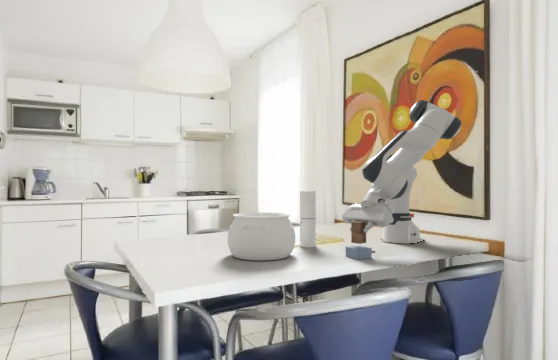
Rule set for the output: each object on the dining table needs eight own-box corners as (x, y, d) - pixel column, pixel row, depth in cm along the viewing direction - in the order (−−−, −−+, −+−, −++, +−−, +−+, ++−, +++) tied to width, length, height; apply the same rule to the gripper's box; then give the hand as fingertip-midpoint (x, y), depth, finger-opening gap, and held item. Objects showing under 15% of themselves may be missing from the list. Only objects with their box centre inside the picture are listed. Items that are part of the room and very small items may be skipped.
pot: (288, 265, 130) (288, 218, 130) (215, 262, 135) (216, 217, 135) (300, 250, 159) (300, 212, 159) (240, 248, 164) (240, 211, 164)
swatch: (361, 249, 160) (361, 248, 160) (375, 252, 155) (375, 251, 155) (353, 251, 157) (353, 250, 157) (367, 253, 152) (367, 252, 152)
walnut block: (357, 241, 147) (357, 221, 147) (366, 242, 144) (366, 221, 144) (351, 242, 144) (351, 221, 145) (360, 243, 142) (359, 222, 142)
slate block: (360, 255, 149) (360, 245, 149) (371, 258, 143) (371, 248, 143) (345, 256, 146) (345, 246, 146) (356, 260, 140) (356, 249, 140)
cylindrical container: (310, 247, 165) (310, 191, 165) (296, 246, 169) (296, 190, 170) (318, 245, 171) (318, 190, 171) (305, 244, 175) (305, 190, 175)
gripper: (347, 199, 157) (333, 224, 150) (391, 200, 142) (377, 228, 135) (354, 209, 160) (340, 234, 153) (397, 211, 145) (384, 239, 138)
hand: (357, 231), depth 144 cm, fingers closed on walnut block, 4 cm apart
